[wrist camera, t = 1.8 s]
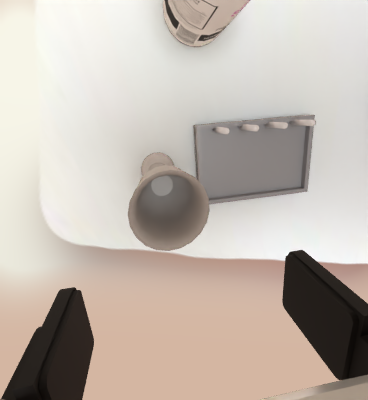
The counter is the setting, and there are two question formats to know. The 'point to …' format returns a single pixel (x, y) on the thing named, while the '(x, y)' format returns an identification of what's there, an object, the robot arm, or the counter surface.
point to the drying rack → (254, 157)
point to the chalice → (167, 205)
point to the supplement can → (200, 18)
